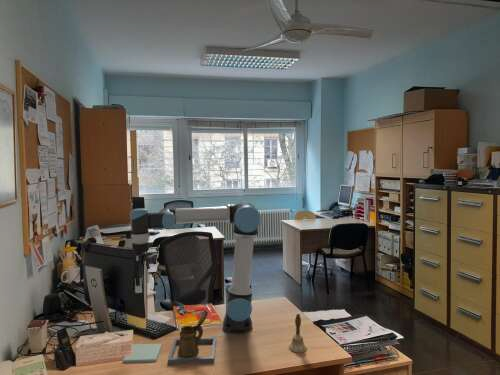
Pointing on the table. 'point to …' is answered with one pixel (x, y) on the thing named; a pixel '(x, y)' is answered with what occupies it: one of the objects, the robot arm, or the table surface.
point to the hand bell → (297, 338)
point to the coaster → (144, 353)
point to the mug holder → (191, 360)
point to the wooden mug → (190, 339)
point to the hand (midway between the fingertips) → (142, 287)
